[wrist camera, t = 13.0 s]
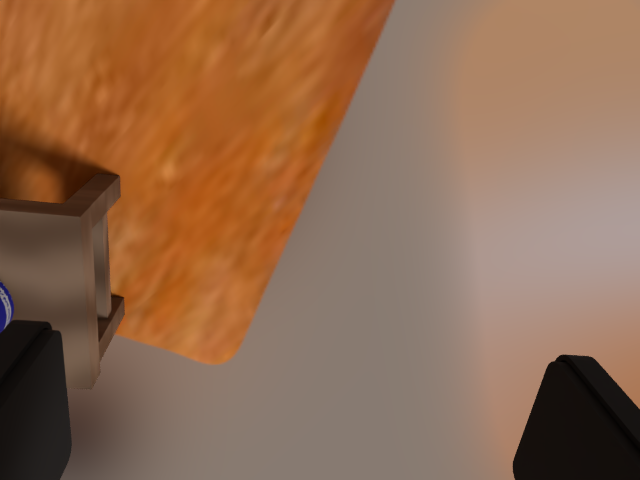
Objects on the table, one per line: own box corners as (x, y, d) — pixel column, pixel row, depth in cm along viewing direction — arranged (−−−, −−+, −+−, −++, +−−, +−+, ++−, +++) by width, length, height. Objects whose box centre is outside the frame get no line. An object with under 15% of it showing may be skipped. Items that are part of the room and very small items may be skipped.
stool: (-59, 155, 41) (-156, 196, 32) (123, 172, 43) (80, 216, 34) (-33, 306, 47) (-109, 379, 38) (127, 317, 48) (91, 389, 39)
